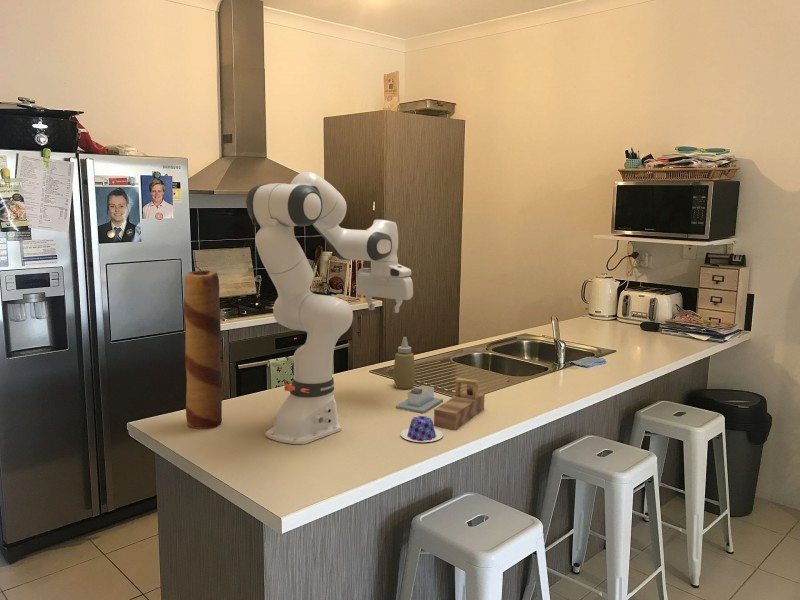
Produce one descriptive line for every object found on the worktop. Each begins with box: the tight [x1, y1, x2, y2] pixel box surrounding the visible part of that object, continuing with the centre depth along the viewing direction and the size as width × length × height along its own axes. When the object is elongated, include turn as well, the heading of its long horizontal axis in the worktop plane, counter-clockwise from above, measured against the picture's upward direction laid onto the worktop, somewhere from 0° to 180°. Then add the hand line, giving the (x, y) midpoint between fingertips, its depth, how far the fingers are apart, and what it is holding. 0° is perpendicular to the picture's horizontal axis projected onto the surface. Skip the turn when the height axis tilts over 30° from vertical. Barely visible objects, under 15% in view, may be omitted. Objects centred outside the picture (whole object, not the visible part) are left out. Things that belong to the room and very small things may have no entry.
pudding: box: [400, 415, 444, 443], centre depth 184 cm, size 12×12×5 cm
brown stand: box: [433, 376, 486, 431], centre depth 200 cm, size 22×7×11 cm, turn 151°
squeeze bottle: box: [392, 336, 417, 390], centre depth 230 cm, size 8×8×18 cm
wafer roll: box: [183, 269, 223, 429], centre depth 189 cm, size 10×11×45 cm
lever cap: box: [407, 384, 435, 407], centre depth 212 cm, size 10×4×5 cm, turn 151°
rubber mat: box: [395, 397, 444, 414], centre depth 212 cm, size 14×10×1 cm
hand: (383, 311), depth 215 cm, fingers open, 8 cm apart
